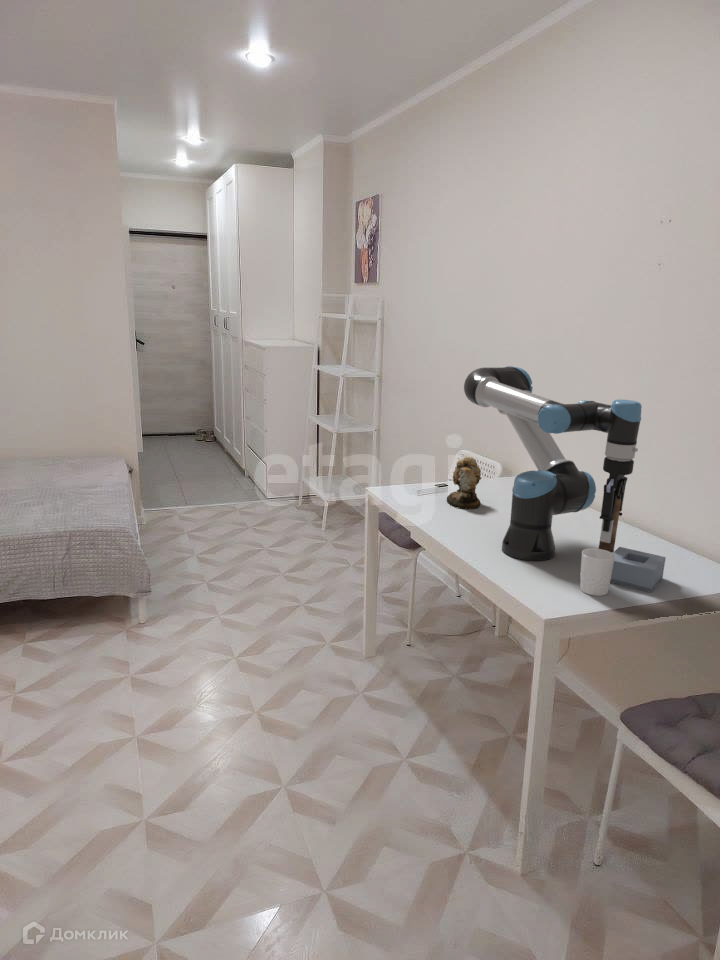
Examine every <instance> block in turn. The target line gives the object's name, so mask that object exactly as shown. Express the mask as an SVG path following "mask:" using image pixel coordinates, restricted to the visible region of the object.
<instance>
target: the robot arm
mask: <svg viewBox="0 0 720 960" xmlns="http://www.w3.org/2000/svg"><path fill="white" fill-rule="evenodd" d="M532 385H533V380H532V377H531V376H530V374H529V373H528V372H527V371H526V370H525V369H523V368H521V367H517V366H516V367H515V366H511V365H510V366H504V367H480V368H479V367H478V368H476V369H474V370H472V371H471V372H470V373H469V374H468V375H467V377H466V379H465V381H464V384H463V392H464V394H465V397H466V398H467V399H468V401H470V402H471V403H472V404H474V405H477V406H480V407H482V408H489V407H492V408H494V409H497V411H498V412H499V414H500V415H504V416H507V418H508V420H509V422H510V424H511V425H512V427H513V429H514V430H515V433H516V434H517V436H518V437H519V439H520V441H521V443H522V444H523V446H524V448H525V449H526V451H527V453H528V455H529V457H530V459H531V460H532V462H533V463H534V465H535V466H536V467H535V468H537V470H527V471H524V472H521V473H519V474H517V475H516V477H515V478H514V481H513V486H512V492H511V493H512V496H511V510H510V520H509V521H510V522H509V526H508V528H507V530H506V533H505V535H504V537H503V540H502V543H501V551H502V552H503V553H504V554H505V555H507V556H509V557H512V558H514V559H519V560H524V561H533V562H534V561H535V562H538V561H547V560H551V559H552V558H554V557H555V556H556V555H555V554H556V544H555V540H554V536H553V531H552V524H553V516H556V515H562V514H563V515H565V514H569V513H578V512H580V511H584V510H586V509H588V508H590V507H591V505H592V504H593V503H594V501H595V498H596V492H597V487H596V486H597V485H596V482H595V480H594V478H593V475H591V474H590V473H589V472H587V471H583V470H579V469H578V467H577V466H576V464H575V462H574V461H573V460H570V459H566V457H565V456H564V453H562V450H561V449H560V448H559V446H558V444H557V443H556V441H555V440H554V438H553V436H552V434H556V435H557V434H561V433H563V434H564V433H571V432H581V431H583V432H584V431H597V432H602V433H607V438H606V443H605V451H604V456H605V457H604V458H603V459H604V460H603V467H602V469H603V471H604V472H605V473H608V474H609V476H608V478H607V479H606V483H605V484H604V485H603V497H602V503H601V510H600V511H601V512H600V516H599V519H600V520H602V521H601V522H602V523H601V530H600V537H599V542H600V541H602V542H606V543H610V542H611V535H612V528H613V521H614V520H613V514H614V509H615V504H616V499H617V498H620V499H621V505H620V512H619V517H622V516H623V512H622V511H623V504H624V497H625V491H626V484H627V482H628V477H626V476H628V475H632V473H633V471H634V463H635V461H634V460H633V459H634V458H635V456H636V452H637V453H638V451H639V449H638V448H637V444H638V436H639V431H640V430H639V429H640V425H641V421H642V417H641V416H642V407H643V406H642V403H641V402H640V401H636V400H631V399H615V400H613V401H612V403H611V404H606V403H601V402H598V401H597V402H596V401H594V400H580V401H579V402H577V403H566V404H565V403H562V402H558V401H554V400H553V399H550V398H546V397H545V396H540V395H537V394H534V393H533V386H532Z"/></svg>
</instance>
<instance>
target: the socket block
mask: <svg viewBox="0 0 720 960" xmlns="http://www.w3.org/2000/svg"><path fill="white" fill-rule="evenodd" d="M612 553H613V554H614V555H615V560H614V565H613V571H612V575H611V580H610V583H612V584H617V585H621V586H625V587H628V588H632V589H636V590H640V591H643V592H644V591H645V592H649V593H652V592H653V591H654V590H655V588H656V587H657V585H659V583H660V582H661V581H662V580H663V578H664V573H665V571H664V570H665V563H666V557H665V556H661V555H658V554H653V553H648V552H645V551H641V550H636V549H630V548H627V547H622V546H619V547H618V548H616V550H615V549H614V552H612Z"/></svg>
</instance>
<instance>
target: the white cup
mask: <svg viewBox="0 0 720 960" xmlns="http://www.w3.org/2000/svg"><path fill="white" fill-rule="evenodd" d="M580 558H581V559H580V572H579V573H580V576H579V577H580V578H579V579H580V585H579V589H580V591H581V592H582V593H585V594H587V595H590V596H597V597H603V596H606V595H608V593H609V588H610V587H609V586H610V584H611V582H610V580H611V575H612V571H613V565H614V560H615V555H614V554H613V552H612V553H611V552H609V551H606V550H602V549H599V548H592V547H591V548H585V549H582V550H581V557H580Z"/></svg>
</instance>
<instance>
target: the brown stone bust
mask: <svg viewBox="0 0 720 960" xmlns="http://www.w3.org/2000/svg"><path fill="white" fill-rule="evenodd" d="M455 467H456V468H454V469H455V470H454V471H453V474H452V482H453V485H456V486H458V489H456V491H453V492H450V494H448V495H447V496H446V502H447V504H449V505H450V506H451V505H452V506H451V507H453V506H454V507H453V508H456V507H458V508H459V509H460V508H462V509H463V510H475V509H479V508H480V506H481V500H480V499H479V497H478V496H477V493H476V489H477V485H478V484H479V483H480V481H481V479H482V478H481V472H482V471H481V467H480V466H478V463H477V460H476V459H475V458H473V457H472V456H464V457H463V458H462V459H459V460H457V461H456V466H455ZM462 509H461V510H462Z"/></svg>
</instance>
